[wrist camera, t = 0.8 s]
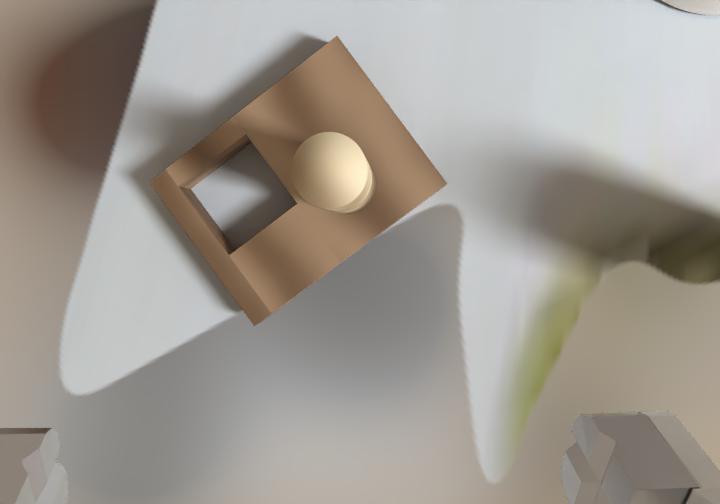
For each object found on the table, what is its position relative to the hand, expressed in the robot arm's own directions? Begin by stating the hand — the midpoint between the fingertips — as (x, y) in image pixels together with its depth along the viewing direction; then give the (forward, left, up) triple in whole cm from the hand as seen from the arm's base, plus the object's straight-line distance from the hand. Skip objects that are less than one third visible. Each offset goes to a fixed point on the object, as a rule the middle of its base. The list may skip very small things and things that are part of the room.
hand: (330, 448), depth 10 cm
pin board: (+1, -9, -36) cm, 37 cm away
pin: (-2, -7, -33) cm, 34 cm away
